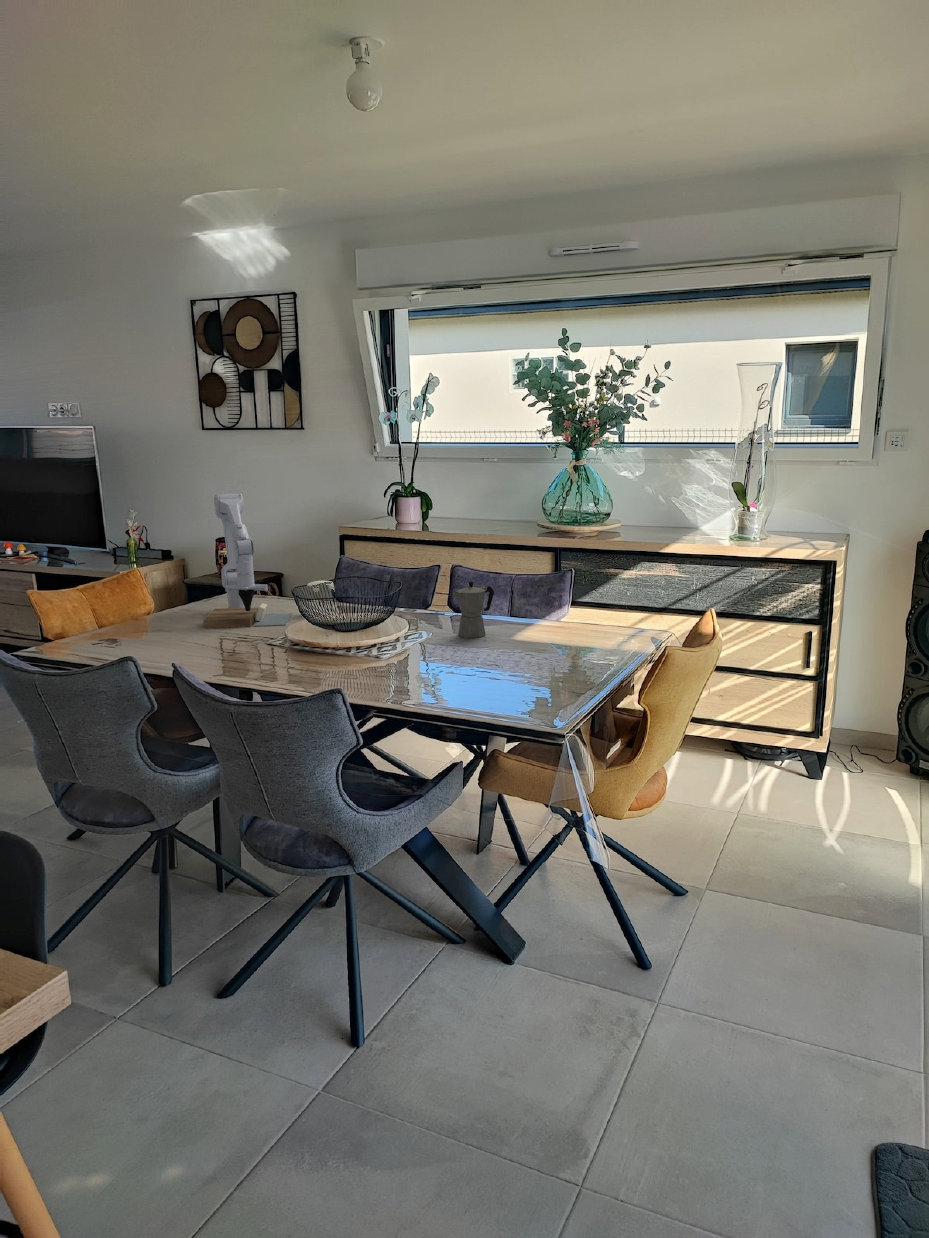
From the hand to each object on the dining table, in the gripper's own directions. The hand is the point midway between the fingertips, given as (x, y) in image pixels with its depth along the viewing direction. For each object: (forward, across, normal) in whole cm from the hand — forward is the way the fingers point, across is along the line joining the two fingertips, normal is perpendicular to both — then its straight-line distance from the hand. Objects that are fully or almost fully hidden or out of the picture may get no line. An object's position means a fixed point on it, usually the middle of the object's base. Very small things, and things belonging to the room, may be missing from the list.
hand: (248, 610), depth 314 cm
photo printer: (+4, +25, +9) cm, 27 cm away
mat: (+4, +9, 0) cm, 9 cm away
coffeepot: (+4, +79, -30) cm, 85 cm away
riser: (+4, -6, 0) cm, 7 cm away
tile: (0, +4, 0) cm, 4 cm away
